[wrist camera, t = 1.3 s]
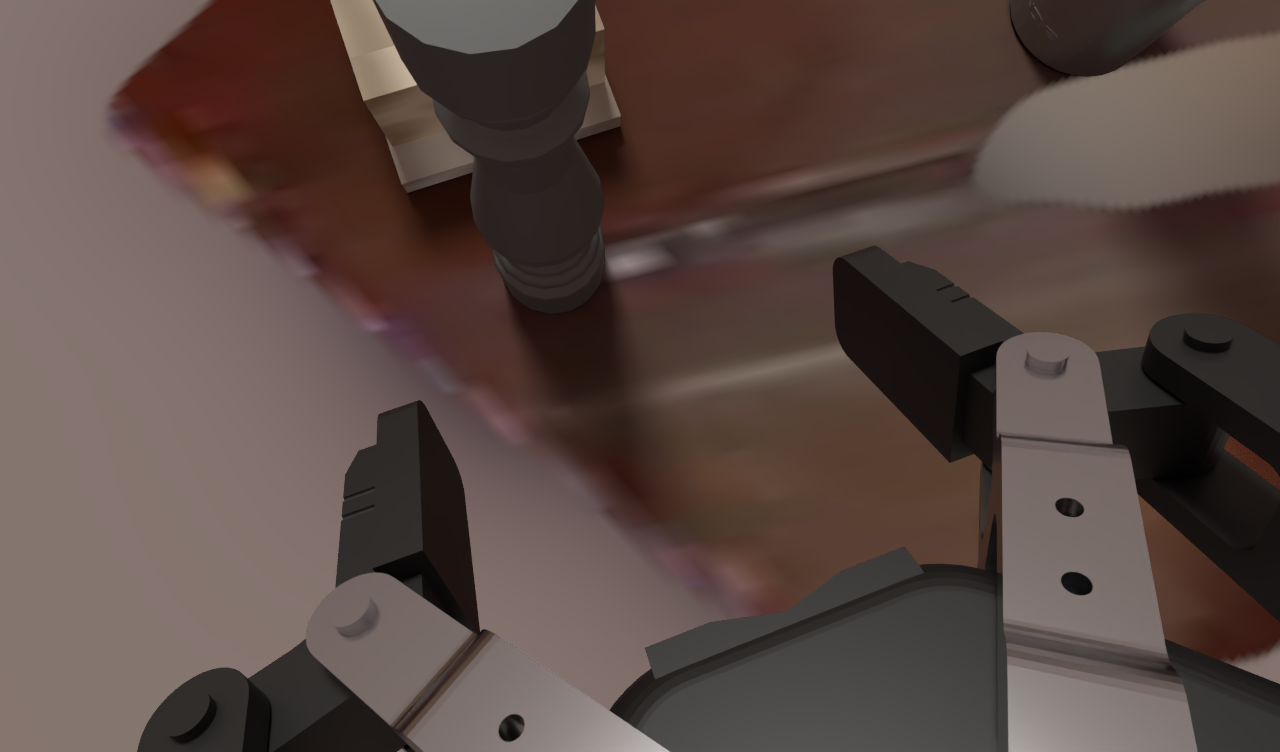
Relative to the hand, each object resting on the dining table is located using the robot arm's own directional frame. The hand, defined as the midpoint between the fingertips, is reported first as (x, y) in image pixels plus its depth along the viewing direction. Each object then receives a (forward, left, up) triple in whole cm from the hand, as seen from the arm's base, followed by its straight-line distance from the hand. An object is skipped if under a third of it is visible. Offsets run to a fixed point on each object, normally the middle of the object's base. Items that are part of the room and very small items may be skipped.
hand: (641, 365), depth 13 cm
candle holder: (0, -11, -28) cm, 30 cm away
